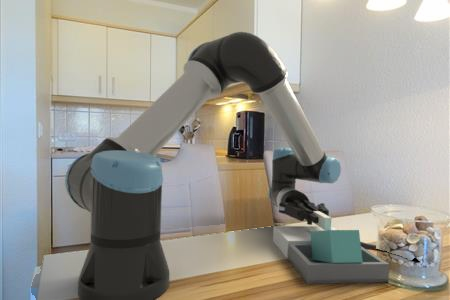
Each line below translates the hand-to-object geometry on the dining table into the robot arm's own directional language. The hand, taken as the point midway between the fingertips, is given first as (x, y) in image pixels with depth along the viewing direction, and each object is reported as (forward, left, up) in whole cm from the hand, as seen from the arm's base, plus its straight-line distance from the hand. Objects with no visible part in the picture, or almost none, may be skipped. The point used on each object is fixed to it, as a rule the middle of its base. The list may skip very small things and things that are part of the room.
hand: (327, 223), depth 69 cm
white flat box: (0, +9, -8) cm, 12 cm away
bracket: (+17, +9, -9) cm, 21 cm away
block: (0, +1, -5) cm, 5 cm away
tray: (0, -4, -8) cm, 9 cm away
